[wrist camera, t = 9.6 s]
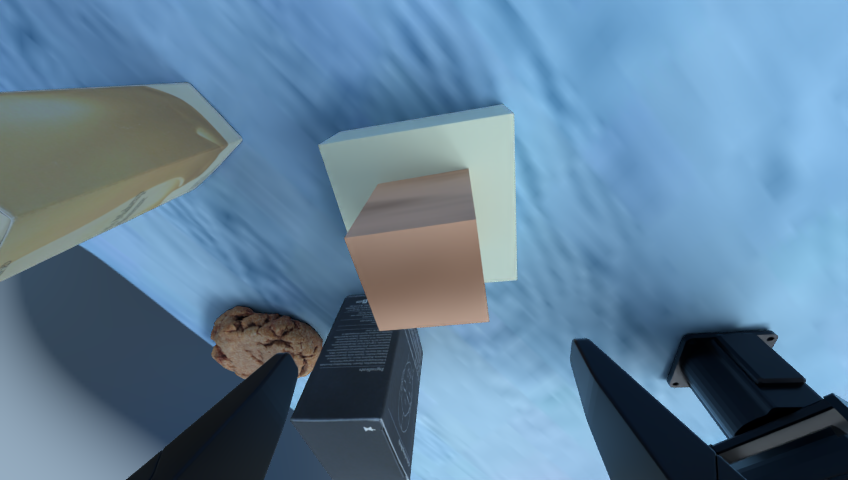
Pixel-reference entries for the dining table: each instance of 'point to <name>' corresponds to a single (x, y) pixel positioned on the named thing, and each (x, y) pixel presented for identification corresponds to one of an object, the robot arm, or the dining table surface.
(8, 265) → the skincare box
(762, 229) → the dining table surface
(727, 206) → the dining table surface
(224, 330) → the cookie
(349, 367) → the box
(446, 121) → the sage base block
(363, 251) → the terracotta block
